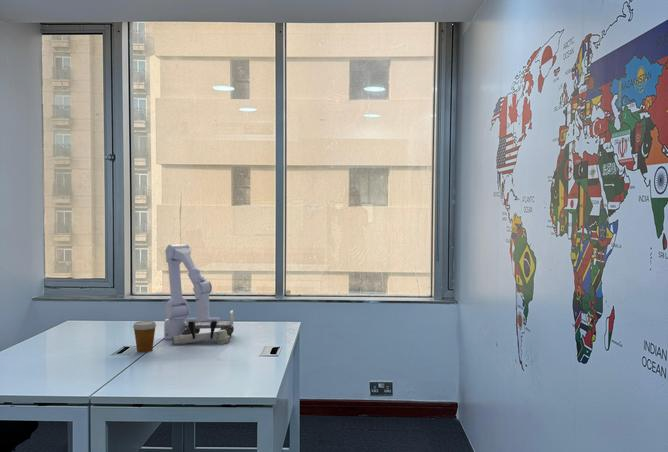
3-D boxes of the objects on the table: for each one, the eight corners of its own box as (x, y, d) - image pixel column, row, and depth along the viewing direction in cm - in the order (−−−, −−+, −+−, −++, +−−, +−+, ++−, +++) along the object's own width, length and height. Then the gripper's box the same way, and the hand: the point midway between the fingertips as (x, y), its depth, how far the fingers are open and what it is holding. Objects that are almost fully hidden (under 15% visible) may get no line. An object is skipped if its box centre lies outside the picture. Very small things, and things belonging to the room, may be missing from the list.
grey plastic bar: (172, 335, 257) (228, 326, 261) (175, 349, 257) (230, 340, 261) (171, 337, 252) (228, 328, 256) (173, 352, 252) (230, 342, 256)
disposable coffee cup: (149, 354, 237) (149, 325, 237) (128, 352, 239) (128, 324, 238) (160, 348, 246) (160, 321, 246) (140, 347, 248) (140, 320, 248)
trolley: (182, 341, 259) (182, 314, 259) (187, 335, 272) (187, 309, 271) (231, 341, 261) (231, 313, 261) (233, 335, 274) (233, 309, 273)
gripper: (184, 310, 249) (184, 340, 249) (218, 309, 250) (218, 340, 250) (187, 307, 256) (187, 337, 256) (219, 306, 257) (220, 336, 258)
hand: (202, 338), depth 254 cm, fingers open, 7 cm apart
